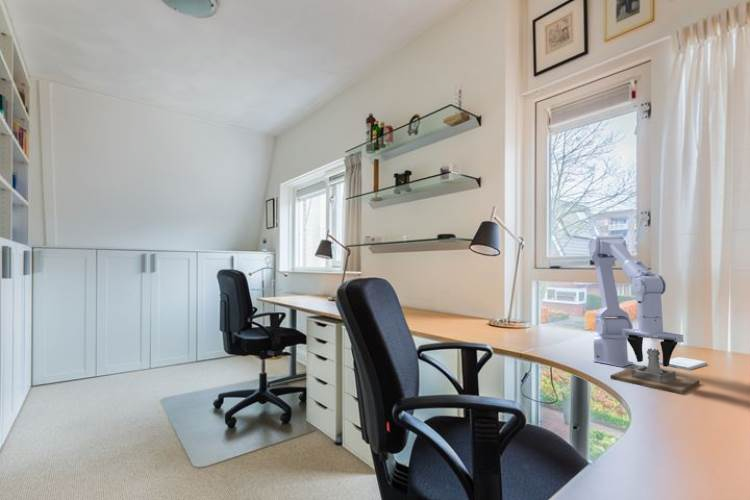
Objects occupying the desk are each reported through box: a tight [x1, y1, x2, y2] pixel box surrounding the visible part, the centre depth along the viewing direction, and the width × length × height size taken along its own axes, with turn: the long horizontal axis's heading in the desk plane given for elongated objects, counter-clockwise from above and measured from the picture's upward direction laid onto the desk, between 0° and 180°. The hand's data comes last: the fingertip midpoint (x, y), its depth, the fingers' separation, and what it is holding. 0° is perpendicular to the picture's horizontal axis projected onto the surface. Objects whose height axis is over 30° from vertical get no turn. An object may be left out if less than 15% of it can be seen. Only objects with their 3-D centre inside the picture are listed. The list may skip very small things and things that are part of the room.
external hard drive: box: [659, 356, 708, 371], centre depth 123 cm, size 2×8×12 cm
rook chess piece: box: [645, 348, 664, 375], centre depth 107 cm, size 4×4×8 cm
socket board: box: [609, 365, 701, 395], centre depth 107 cm, size 17×14×3 cm
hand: (652, 363), depth 107 cm, fingers open, 6 cm apart
